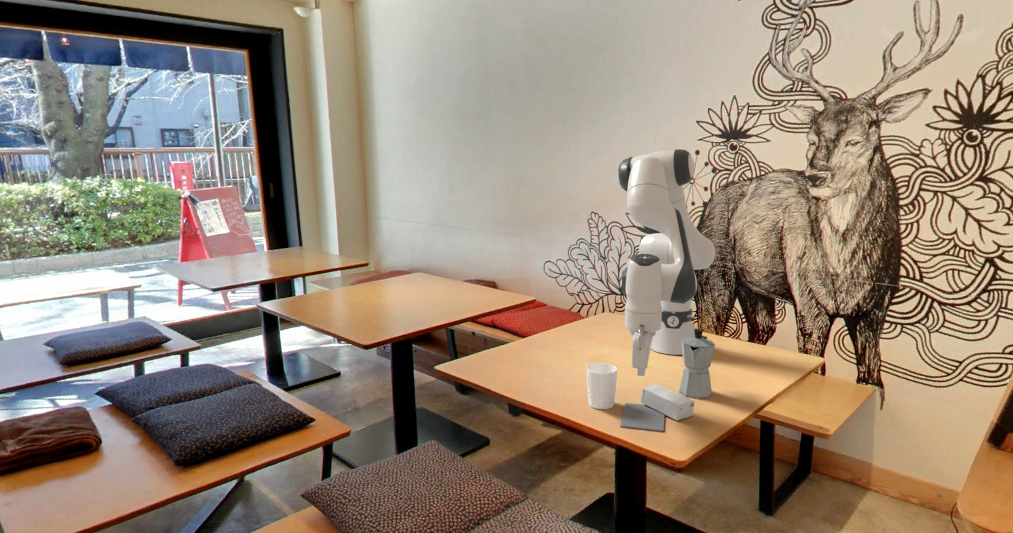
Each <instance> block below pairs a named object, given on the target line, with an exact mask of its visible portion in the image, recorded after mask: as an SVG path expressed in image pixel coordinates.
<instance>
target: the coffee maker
mask: <svg viewBox="0 0 1013 533" xmlns="http://www.w3.org/2000/svg"><path fill="white" fill-rule="evenodd" d="M703 332H704V330H703V329H702V328H696V329H694V333H695V337H692V338H686V339H683V340H681V343H682V354H683V355H682V360H683V361H682V362H683V364H684V369H683V371H682V377H681V381H680V385H679V386H680V387H679V391H678V393H679V394H680V395H682V396H684V397H686V398H690V397H692V398H691V399H696V398H697V399H696V400H699V399H698V398H702V399H709V398H708V397H710V398H711V396H712V394H713V390H712V384H711V383H712V382H711V373H710V370H709V368H710V367H711V364H712V360H713V355H714V351H715V345H716V344H715V343H714V341H713V340H711V339H708V337H707V336H706V335H703ZM710 395H711V396H710Z"/></svg>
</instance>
